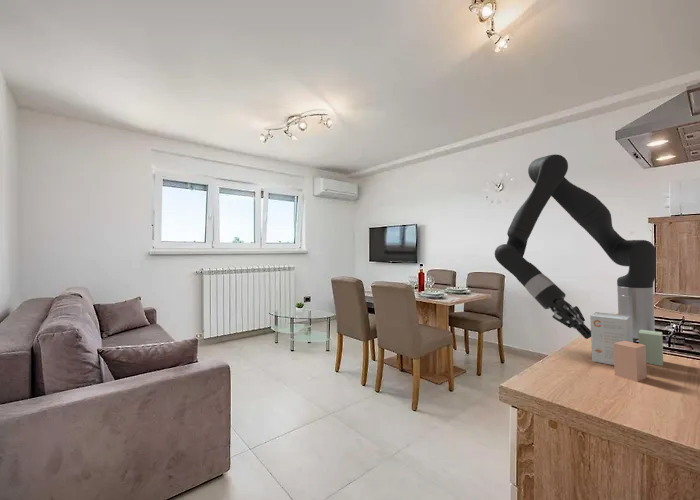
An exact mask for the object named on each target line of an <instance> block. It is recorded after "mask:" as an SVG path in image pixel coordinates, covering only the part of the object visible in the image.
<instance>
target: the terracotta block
mask: <svg viewBox="0 0 700 500" xmlns="http://www.w3.org/2000/svg"><path fill="white" fill-rule="evenodd" d="M613 366H614V376H615V377H616V376H617V377H618V378H619V377H620V378H623V379H627V380H630V381H633V382H636V383H638V382H640V381H643V380H645V379H647V377H648V376H647V375H648V373H647V372H648V371H647V363H646V345H643V344H639V342H638V343H637V342H634V341H633V342H628V341H620V342H617V343H614V365H613Z"/></svg>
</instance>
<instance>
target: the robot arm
mask: <svg viewBox="0 0 700 500" xmlns="http://www.w3.org/2000/svg"><path fill="white" fill-rule="evenodd" d="M568 171H569V163H568V160H567V159H566V158H565V157H564V156H563V155H561V154H556V153H554V154H547V155H546V156H545V155H544V156H542V157H538V158H535V159H534V160H533V161H532V162H531V163H530V164H529V165H528V170H527V172H528V176H529V178H530V181H532V182H533V183H534V187H533V189H532V191H531V193H530V194H529V195H528V197H527V198H526V199H525V201H524V202H523V204H522V205H521V206H520V207H519V209H518V210H516V213H515V214H514V217H513V219H512V221H511V223H510V225H509V227H508V229H507V234H506V235H507V238H508V239H507V241H506V243H503V244H500V245H498V246H497V247H496V248H495V250H494V257H495V259H496V261H497V262H498V263H499V264H500V265H501V266H502V267H503V268H504V269H506V270H507V271H508V273H511V274H512V276H513V277H515V278H516V280H517V281H518V282H519V283H520V284H521V285H522V286H523V287H524V288H525V290H526V291H527V292H528V294H529V295H530V296H532V298H534V299H535V301H536V302H537V303H538V304H539V305H540V306H541V307H542V308H543V309H545V310H549V309H550V311H551V312H552V313H554V314H553V315H552V316H551V317H552V318H553V319H554V320H556V321H557V322H559V323H561V325H562V324H563V326H566V327H567V328H568V329H569V328H570V329H572V328H573V329H574V330H577V332H578V333H579V334H580V335H581V336H582V337H583V338H584V339H585V340H588V339H591V328H588V326H587V325H586V324H585V321H586V319H585V318H584V315H583V314H582V312H581V310H580V308H579V306H577V305H575V306H573V305H572V304H570V303H569V302H567V301H566V299H565V298H566V293H565V292H564V290H562V289H561V288H560V287H558V286H557V285H556V284H555V283H554V282H553V281H552V280H551V279H550V278H549V277H548V276H547V275H545V274H544V273H543V272H542V271H541V270H540V269H538V268H537V266H535V265H534V264H532V263H531V262H529V261H528V260H527V259H526V258H525V257H524V256H525V252H526V248H527V244H528V241H529V237H530V236H531V234H532V232H533V230H534V227H535V225H536V223H537V222H538V219H539V217H540V215H541V214H542V211H543V209H544V208H545V207H546V205H547V204H548V202H549V200H550V199H551V198H553V199H554V200H555V202H557V203H558V204H559V206H560V207H562V209H563V210H564V211H565V212H567V214H568V215H569V216H570V217H571V218H572V219H573V220H574V221H575V222H576V223H577V224H578V225H579V226H580V227H581V228H582V229H584V230H585V231H586V232H587V234H588V235H590V237H592V239H593V240H595V241H596V242H597V244H598V245H599V246H600V247H601V249H602V250H603V251H604V252H605V253H606V255H607V256H608V257H609V259H610V260H611V261H612V262H613V263H615V264H616V265H618V266H622V267H628V272H627V274H626V275H623V276H619V277H618V278H617V280H616V285H617V286H616V287H617V291H616V292H617V314H620V315H630V316H632V329H633V339H636V340H639V339H638V333H639V331H640V330H648V331H656V327H655V324H656V323H655V299H654V297H655V296H654V281H656V280H655V279H656V275H657V250H656V248H655V245H654V244H653V243H652V242H650V241H649V240H646V239H629V240H628V239H625V238H624V237H623V236H621V235H620V234H619V233H618V232H617V231H616V230H615V229H614V227H613V220H612V214H611V212H610V210H609V208H607V206H606V205H605V204H604V203H603V202H601V200H600V199H599V198H597V196H596V195H593V194H592V193H590V192H589V191H588V190H585V189H583V188H581V187H579V186H577V185H576V184H574V183H572V182H570V181H569V180H568V179H567V178H566V177H565V176H566V174H567V173H568Z"/></svg>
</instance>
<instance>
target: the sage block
mask: <svg viewBox="0 0 700 500" xmlns="http://www.w3.org/2000/svg"><path fill="white" fill-rule="evenodd" d="M663 338H664V337H663V332H662V331H656V330H655V331H648V330H640V331H639V333H638V339H637V340H638V344H643V345H646V364H650V365H656V366H660V367H663V365H664V344H663V343H664V342H663Z"/></svg>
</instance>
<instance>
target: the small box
mask: <svg viewBox="0 0 700 500" xmlns="http://www.w3.org/2000/svg"><path fill="white" fill-rule="evenodd" d="M589 316H590V317H589V319H590V320H589V321H590V330H591V337H590V339H591V360H592V362H594V363H601V364H604V365H609V366H614V343H617V342H620V341H628V342H633V343H634V338H633V329H632V316H630V315H620V314H618V313H610V312H609V313H608V312H597V311H596V312H595V313H592V314H591V315H589Z"/></svg>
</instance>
